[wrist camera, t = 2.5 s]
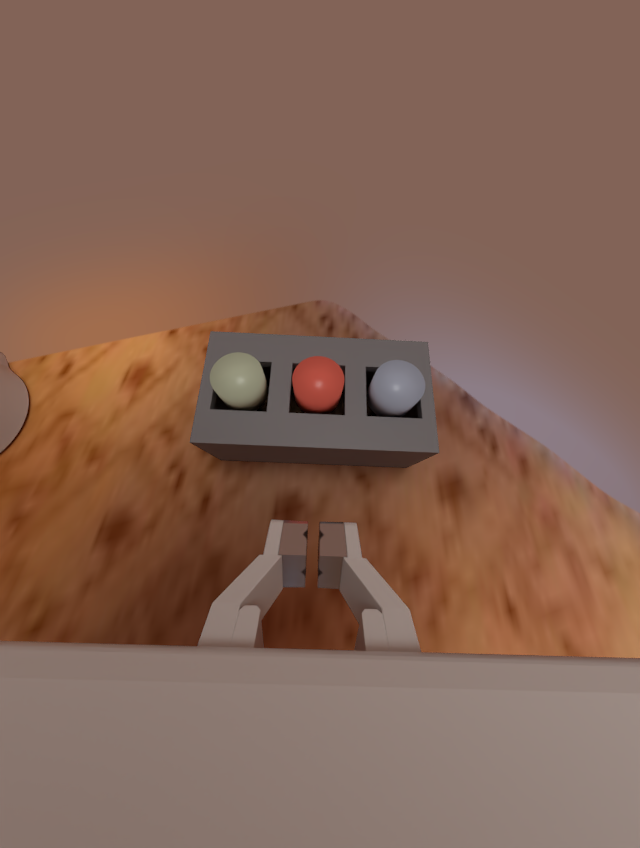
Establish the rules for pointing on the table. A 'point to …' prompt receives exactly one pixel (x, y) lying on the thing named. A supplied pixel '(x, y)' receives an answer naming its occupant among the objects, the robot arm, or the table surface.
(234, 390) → the green button
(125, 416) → the table surface
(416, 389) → the blue button
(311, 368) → the red button
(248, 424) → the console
